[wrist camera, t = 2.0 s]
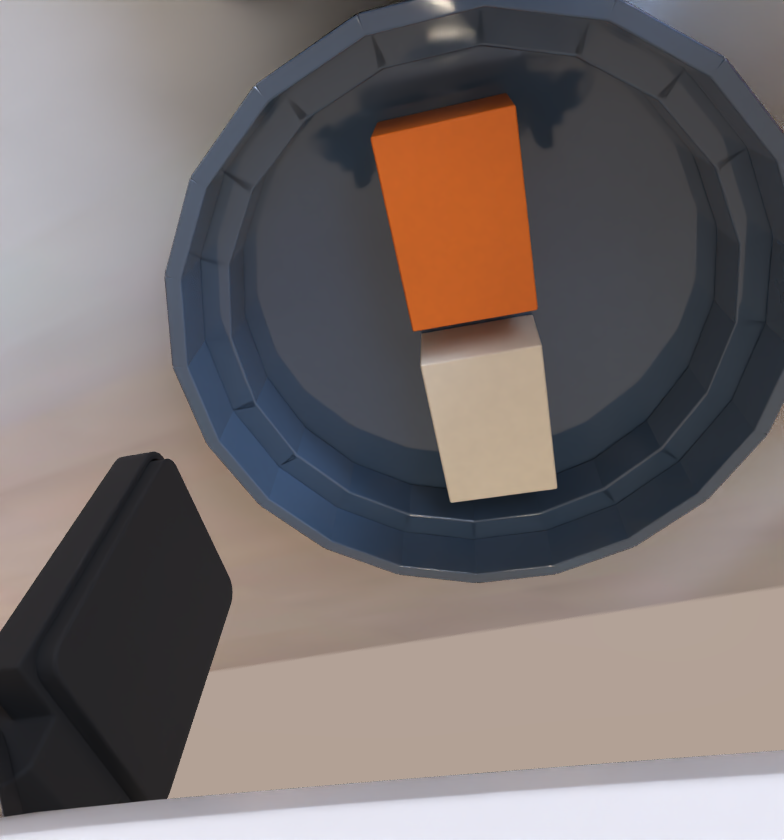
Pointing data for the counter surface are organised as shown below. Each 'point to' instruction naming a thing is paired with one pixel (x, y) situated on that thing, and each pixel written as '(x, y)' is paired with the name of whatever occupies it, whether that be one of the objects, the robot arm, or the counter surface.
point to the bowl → (554, 318)
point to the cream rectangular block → (490, 408)
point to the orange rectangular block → (458, 211)
